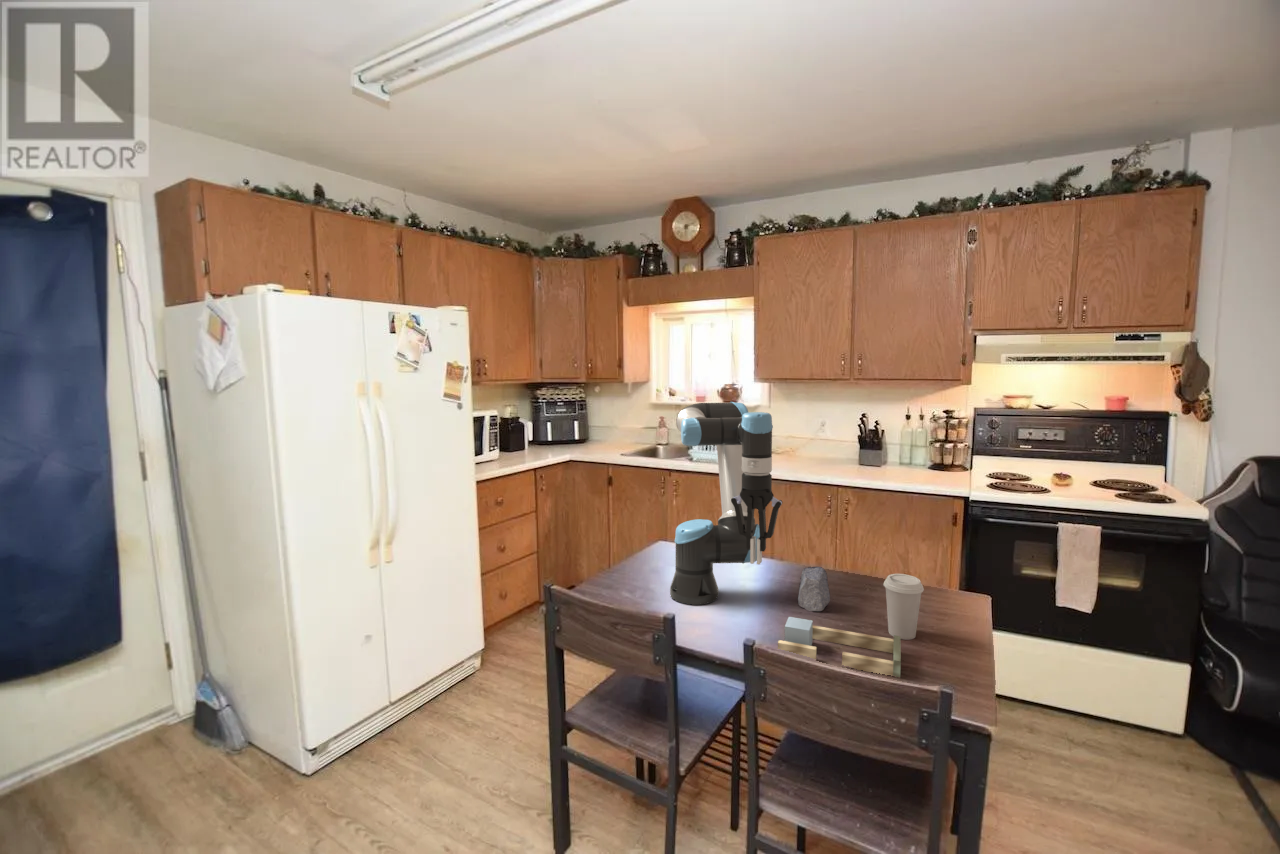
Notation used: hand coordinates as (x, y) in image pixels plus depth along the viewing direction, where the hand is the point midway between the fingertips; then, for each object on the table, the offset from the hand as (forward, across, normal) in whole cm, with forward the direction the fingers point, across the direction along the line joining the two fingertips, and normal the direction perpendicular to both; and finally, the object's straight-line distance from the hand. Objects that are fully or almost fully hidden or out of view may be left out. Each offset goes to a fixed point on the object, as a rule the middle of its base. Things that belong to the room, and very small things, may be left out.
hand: (756, 562), depth 145 cm
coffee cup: (+21, +35, +17) cm, 44 cm away
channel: (+20, +20, 0) cm, 29 cm away
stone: (+21, +11, +26) cm, 35 cm away
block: (+21, +11, 0) cm, 23 cm away
